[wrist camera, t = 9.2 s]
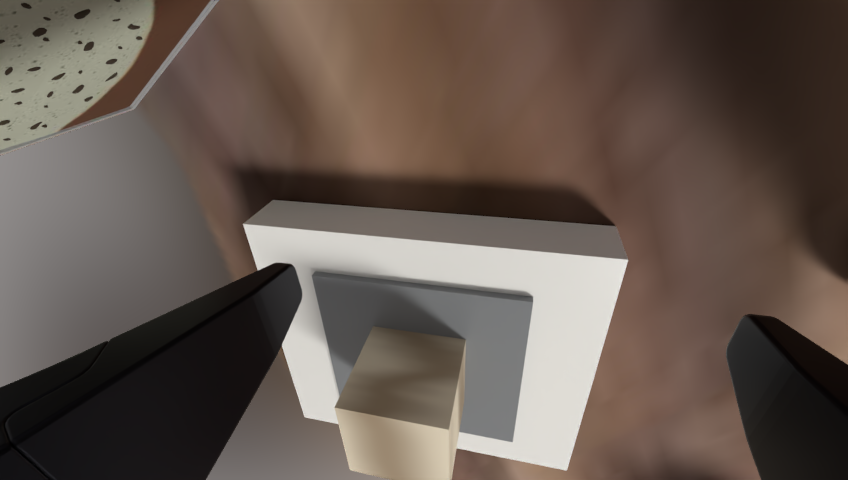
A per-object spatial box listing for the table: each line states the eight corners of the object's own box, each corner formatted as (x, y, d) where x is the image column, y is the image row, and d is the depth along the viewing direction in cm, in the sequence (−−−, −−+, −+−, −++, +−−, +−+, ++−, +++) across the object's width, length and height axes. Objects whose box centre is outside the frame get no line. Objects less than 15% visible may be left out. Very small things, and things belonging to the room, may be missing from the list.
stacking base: (616, 226, 18) (630, 265, 16) (563, 429, 27) (567, 477, 24) (273, 199, 22) (237, 227, 19) (321, 385, 31) (302, 422, 28)
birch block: (466, 339, 20) (448, 429, 16) (464, 401, 23) (449, 492, 18) (373, 326, 21) (334, 407, 17) (381, 386, 24) (350, 470, 20)
